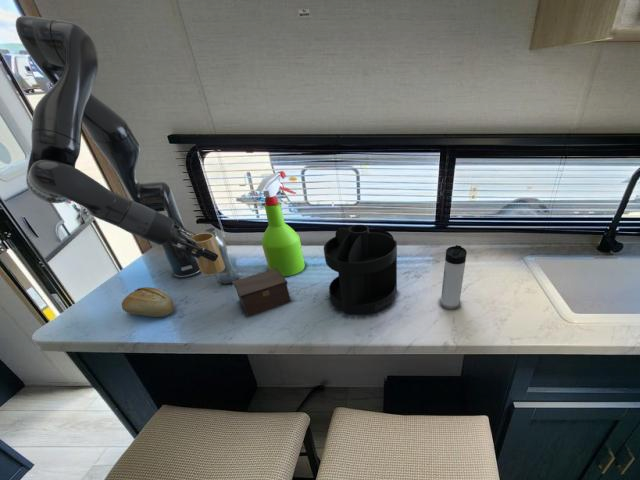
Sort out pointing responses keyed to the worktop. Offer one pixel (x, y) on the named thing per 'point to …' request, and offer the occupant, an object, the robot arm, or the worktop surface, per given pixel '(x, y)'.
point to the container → (362, 269)
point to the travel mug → (453, 276)
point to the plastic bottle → (229, 271)
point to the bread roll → (148, 303)
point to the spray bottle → (279, 231)
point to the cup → (210, 244)
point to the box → (262, 291)
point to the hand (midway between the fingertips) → (214, 253)
